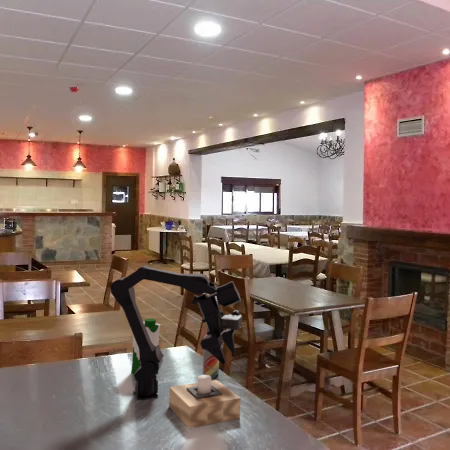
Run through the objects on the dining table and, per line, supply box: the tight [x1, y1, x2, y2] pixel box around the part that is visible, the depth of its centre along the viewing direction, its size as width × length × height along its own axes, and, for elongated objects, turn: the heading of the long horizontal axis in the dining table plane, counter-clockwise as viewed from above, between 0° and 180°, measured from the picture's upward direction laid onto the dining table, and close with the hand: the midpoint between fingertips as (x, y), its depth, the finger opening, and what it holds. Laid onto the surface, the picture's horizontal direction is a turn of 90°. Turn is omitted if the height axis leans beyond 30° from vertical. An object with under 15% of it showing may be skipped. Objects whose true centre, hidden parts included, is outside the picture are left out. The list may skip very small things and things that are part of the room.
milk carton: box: [130, 318, 161, 375], centre depth 177 cm, size 9×9×20 cm
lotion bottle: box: [202, 326, 220, 381], centre depth 174 cm, size 6×6×20 cm
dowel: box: [197, 374, 211, 395], centre depth 145 cm, size 4×4×6 cm
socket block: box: [168, 379, 241, 429], centre depth 145 cm, size 16×16×7 cm
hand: (229, 357), depth 155 cm, fingers open, 9 cm apart
